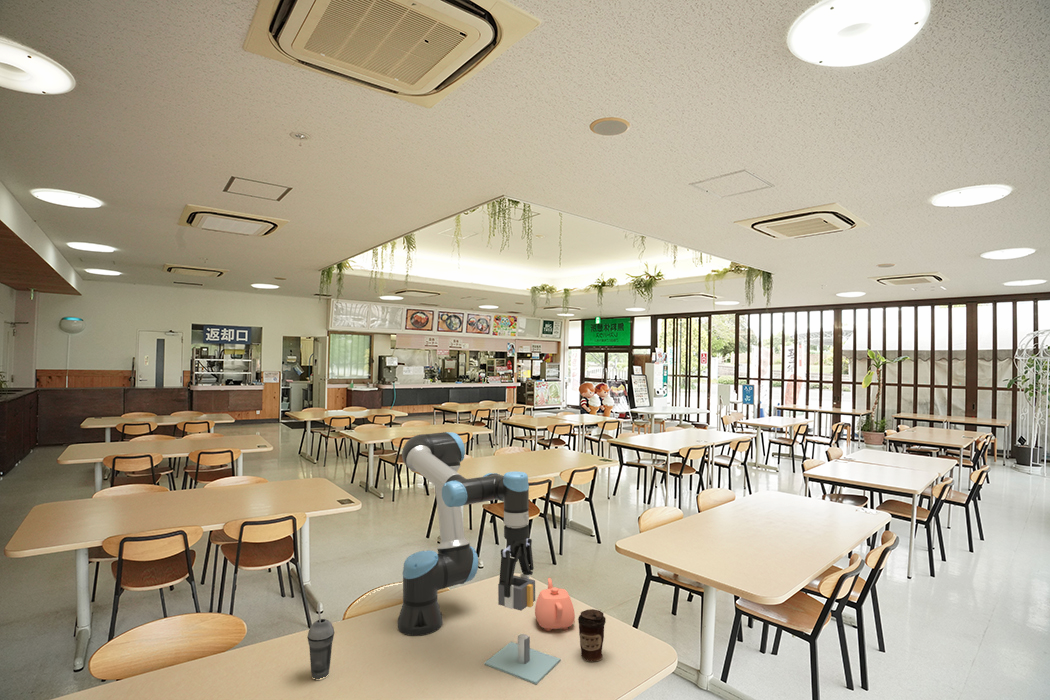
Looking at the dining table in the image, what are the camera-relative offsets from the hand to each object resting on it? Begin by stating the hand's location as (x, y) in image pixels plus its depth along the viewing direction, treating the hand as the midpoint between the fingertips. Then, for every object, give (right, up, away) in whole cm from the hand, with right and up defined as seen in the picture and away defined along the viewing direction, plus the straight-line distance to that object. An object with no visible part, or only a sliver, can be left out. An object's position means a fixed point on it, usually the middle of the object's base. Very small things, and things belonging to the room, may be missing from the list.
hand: (517, 601), depth 156 cm
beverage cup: (-56, -18, -7) cm, 59 cm away
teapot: (+12, -19, +24) cm, 33 cm away
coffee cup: (+23, -18, +3) cm, 29 cm away
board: (+2, -18, 0) cm, 18 cm away
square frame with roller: (0, 0, 0) cm, 0 cm away
